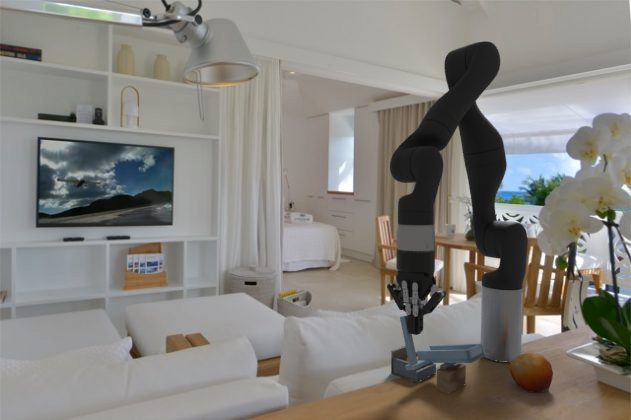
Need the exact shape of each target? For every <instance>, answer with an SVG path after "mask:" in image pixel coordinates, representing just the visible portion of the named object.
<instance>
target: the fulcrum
mask: <svg viewBox="0 0 631 420" xmlns="http://www.w3.org/2000/svg"><path fill="white" fill-rule="evenodd" d="M439 366H440V367H439V369H436V390H437V389H438V390H437V391H439V390H440V391H439V392H442V391H443V392H442V393H444V394H447V395H449V394H450V393H453V392H454V391H456V390H458V389H460V388H462V387H463V386H465V385H466V382H467V381H466V380H467V379H466V378H467V375H466V374H467V372H466V371H467V365H466V364H465V363H440V365H439ZM464 384H465V385H464ZM462 385H463V386H462ZM459 387H460V388H459Z"/></svg>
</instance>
